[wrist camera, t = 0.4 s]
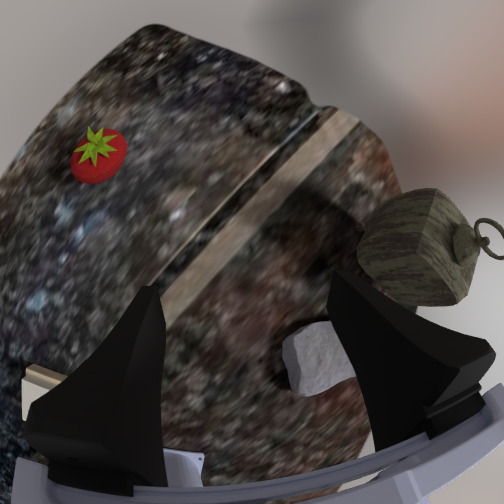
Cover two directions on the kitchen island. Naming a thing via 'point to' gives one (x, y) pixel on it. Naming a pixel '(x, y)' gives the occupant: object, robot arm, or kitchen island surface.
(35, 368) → the maple base block
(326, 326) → the stone block
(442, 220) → the tabletop clock
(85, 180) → the strawberry
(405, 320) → the robot arm
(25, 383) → the cream top block
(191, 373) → the kitchen island surface
